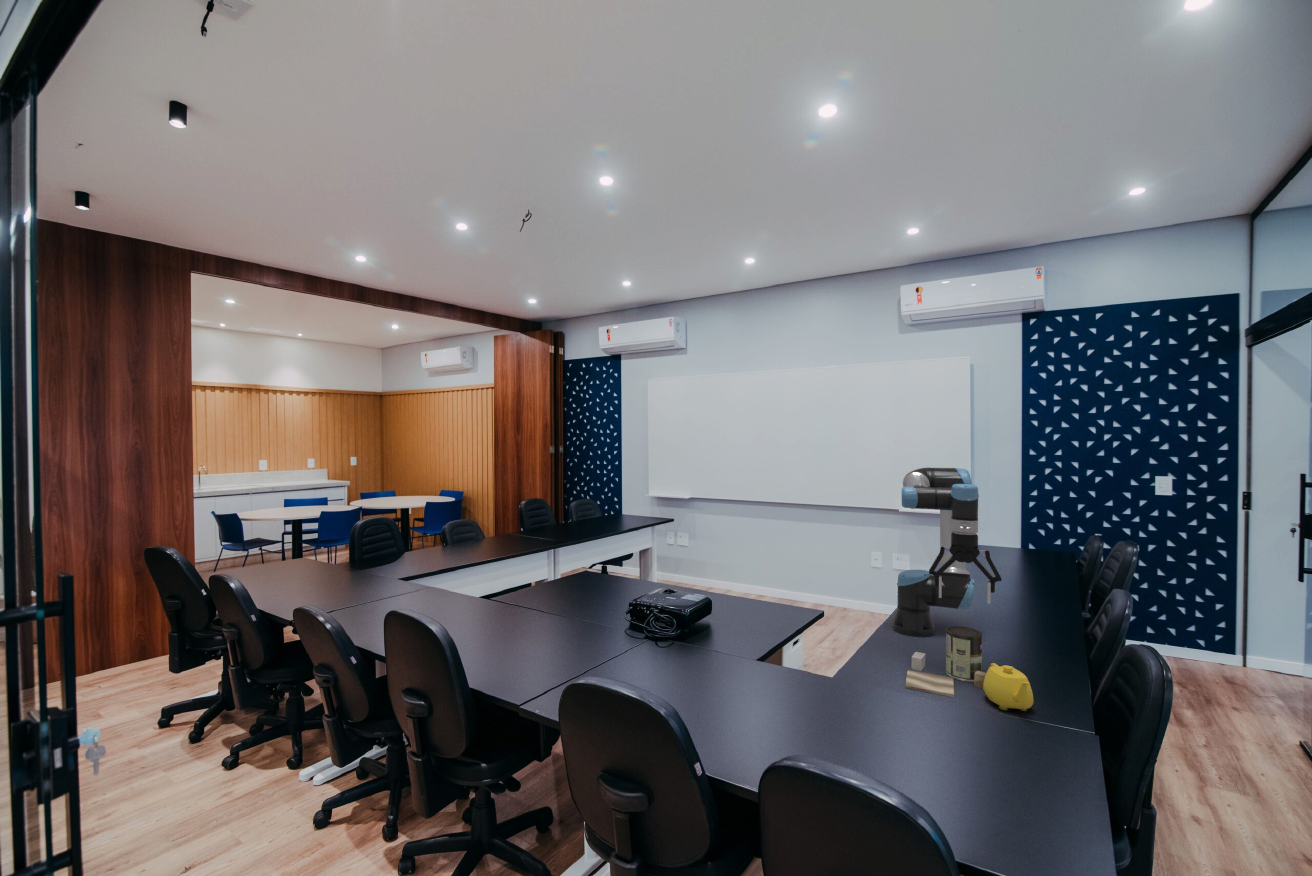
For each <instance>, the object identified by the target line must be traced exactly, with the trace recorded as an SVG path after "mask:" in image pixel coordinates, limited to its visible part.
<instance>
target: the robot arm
mask: <svg viewBox="0 0 1312 876" xmlns="http://www.w3.org/2000/svg"><path fill="white" fill-rule="evenodd" d="M979 497H980V494H979V487H978V486H977V485H975V484H973V482H972V477H971V474H970V472H969V471H968V469H965V468H958V467H922V468H917V469H914V470H912V471H910V472H908V473H907V474H905V476H904V478H903V481H902V488H901V506H902V507H903V508H905V509H911V510H915V509H918V510H938V511H939V533H940V534H939V535H940V536H939V539H940V540H939V547H940V548H939V553H938V554H937V556H936V558H935V559H934V561H933V563H932V565H931V567H930V568H929V570H926V569H908V570H904V571H901V572H899V574H898V575H897V583H896V585H897V602H896V603H897V606H896V607H897V609H896V612H895V614H894V618H893V620H892V629H893V630H894V631H895V632H896V633H899V634H902V635H906V636H911V637H918V638H919V637H922V638H928V637H932V636H934V635H935V634H936V632H935V630H936V629H935V624H934V620H933V617H932V616H931V609H930V608H931V607H938V608H948V609H955V610H969V609H970V608H972V605H973V602H974V598H975V597H974V596H975V590H976V588H975V586H976V580H975V579H974V578H971V573H970V572H969V571H968V570H967V569H966V563H967V564H970V563H973V564H975V566H976V567H977V568H978V569H979V570H980V572H982V573H983V575H984V576H985V577H986V578H987V579H988V580H986V581H987V582H986V590H987V591H986V602H987V604H988V605H989V604H991V599H992V597H991V596H992V595H991V593H993V594H994V593H995V592H996V589H995V587H996V583H997V582H1001V581H1003V579H1002V577H1001V574H1000V572H999V571H998V569H997V568H996V566H995V564H994V562H993V560H992V558H991V554H990V553H991V552H990V550H989V549H987V548H986V549H979V535H978V533H979ZM979 555H982V557H983V558H985V560H986V561H987V564H988V565H989V567H990V569H991V571H992V572H993V574H994V576H993V575H992V574H991V573H990V572H989V571H988V570H987V568H986V567H985V566H984V565H983V564H982V563H981V561H979V560H978V557H979ZM939 564H940V565H939ZM938 565H939V568H937V567H938Z"/></svg>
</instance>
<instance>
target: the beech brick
mask: <svg viewBox="0 0 1312 876" xmlns="http://www.w3.org/2000/svg"><path fill="white" fill-rule="evenodd" d="M986 673H987V672H984V671H982V672H981V671H977V672H975V673H974V682H973V684H974V685H973V686H974V687H977V688H980V689H983V683H984V678H985V675H986Z"/></svg>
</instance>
